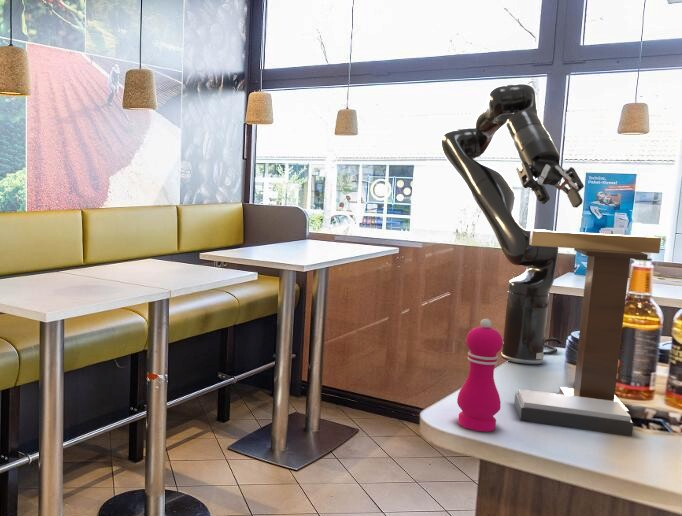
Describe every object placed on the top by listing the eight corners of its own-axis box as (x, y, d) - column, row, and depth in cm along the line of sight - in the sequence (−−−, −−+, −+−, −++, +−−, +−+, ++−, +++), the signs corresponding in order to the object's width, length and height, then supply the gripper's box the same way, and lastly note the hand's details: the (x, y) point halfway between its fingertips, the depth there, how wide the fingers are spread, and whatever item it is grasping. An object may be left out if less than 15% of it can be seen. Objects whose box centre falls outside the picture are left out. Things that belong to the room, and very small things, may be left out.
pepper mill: (461, 415, 133) (471, 313, 131) (502, 425, 128) (513, 319, 126) (450, 425, 127) (459, 318, 125) (492, 436, 123) (503, 325, 121)
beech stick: (529, 244, 145) (530, 229, 144) (654, 252, 137) (656, 236, 137) (531, 245, 142) (532, 230, 142) (659, 253, 134) (661, 238, 134)
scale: (514, 404, 141) (515, 387, 140) (617, 418, 135) (619, 401, 134) (520, 420, 132) (522, 402, 131) (632, 436, 125) (634, 417, 125)
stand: (558, 393, 149) (574, 245, 146) (613, 400, 146) (630, 248, 142) (569, 410, 138) (586, 250, 135) (628, 418, 135) (647, 254, 131)
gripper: (550, 162, 167) (577, 216, 158) (499, 156, 164) (523, 210, 155) (572, 141, 161) (601, 196, 152) (519, 134, 158) (545, 189, 149)
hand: (561, 203), depth 153 cm, fingers open, 8 cm apart
